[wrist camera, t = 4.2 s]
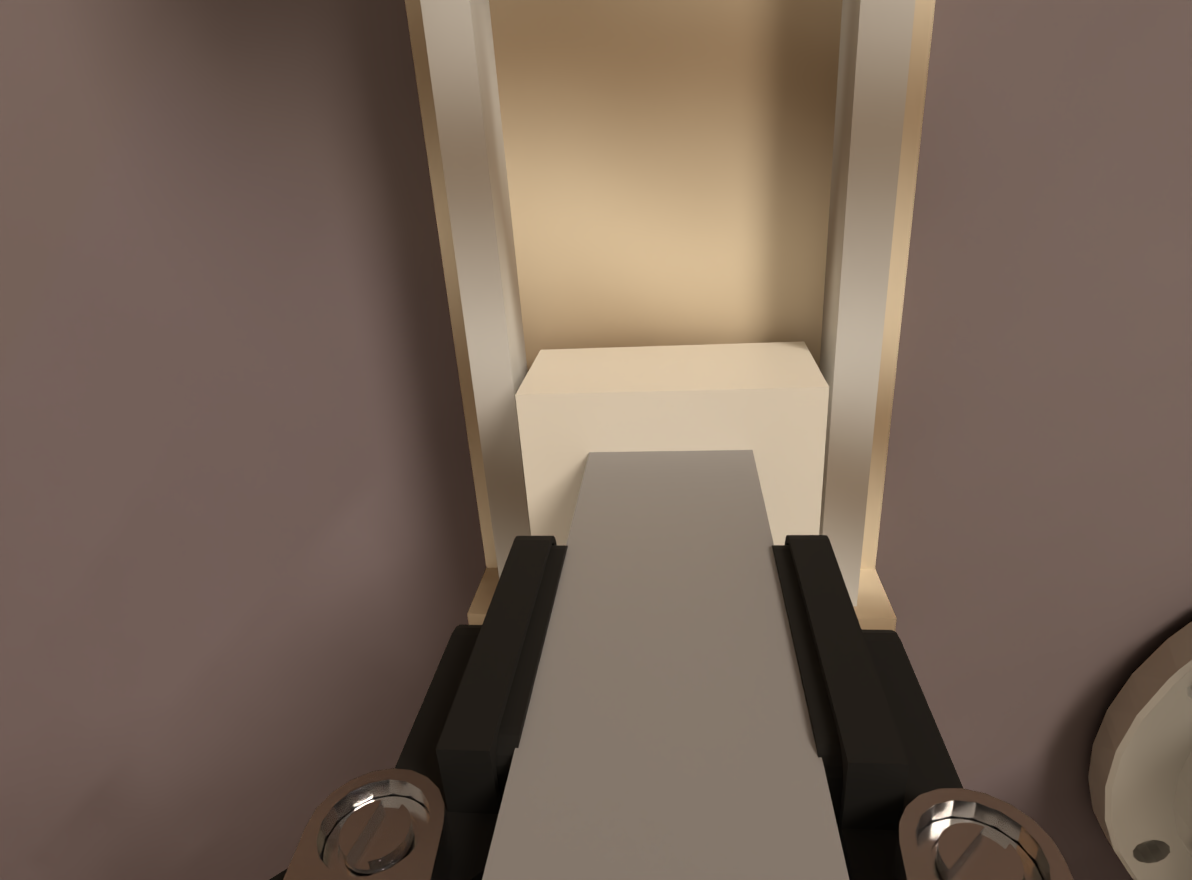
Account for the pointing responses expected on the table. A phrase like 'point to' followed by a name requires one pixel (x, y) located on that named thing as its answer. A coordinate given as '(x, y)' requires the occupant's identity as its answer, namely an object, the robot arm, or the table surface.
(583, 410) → the carriage
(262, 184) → the table surface
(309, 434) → the table surface
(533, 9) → the board
